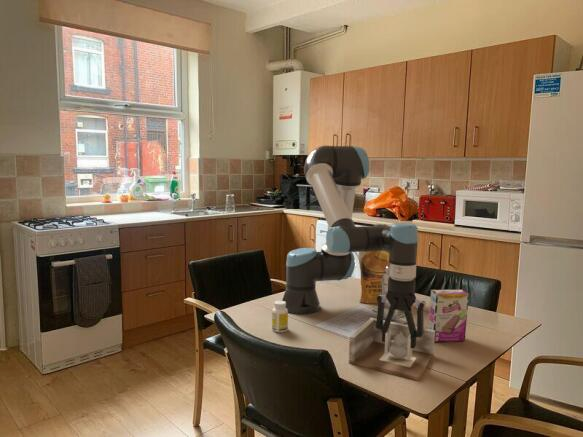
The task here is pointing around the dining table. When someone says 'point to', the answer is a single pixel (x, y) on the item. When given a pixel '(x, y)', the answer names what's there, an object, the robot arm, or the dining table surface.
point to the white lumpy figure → (398, 346)
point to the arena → (371, 352)
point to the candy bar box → (448, 315)
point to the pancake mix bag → (372, 274)
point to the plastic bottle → (384, 291)
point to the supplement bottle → (279, 317)
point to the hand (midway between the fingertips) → (398, 355)
